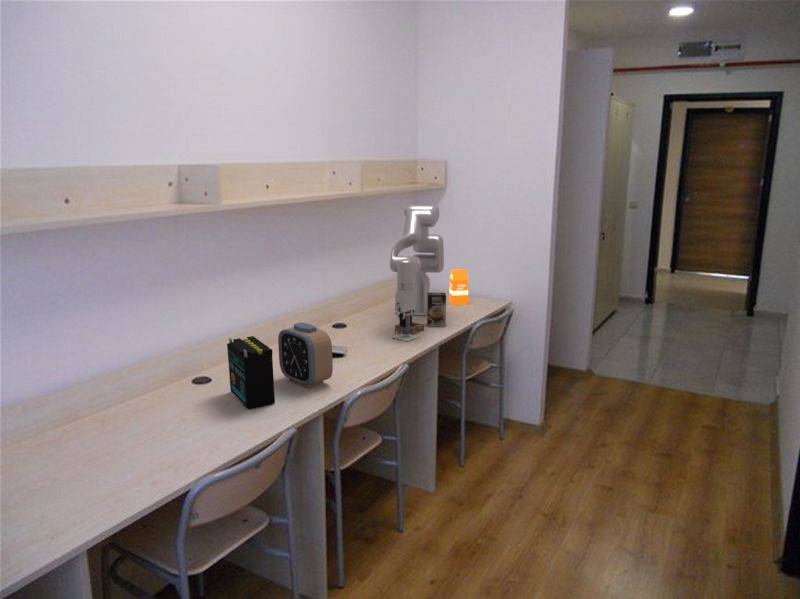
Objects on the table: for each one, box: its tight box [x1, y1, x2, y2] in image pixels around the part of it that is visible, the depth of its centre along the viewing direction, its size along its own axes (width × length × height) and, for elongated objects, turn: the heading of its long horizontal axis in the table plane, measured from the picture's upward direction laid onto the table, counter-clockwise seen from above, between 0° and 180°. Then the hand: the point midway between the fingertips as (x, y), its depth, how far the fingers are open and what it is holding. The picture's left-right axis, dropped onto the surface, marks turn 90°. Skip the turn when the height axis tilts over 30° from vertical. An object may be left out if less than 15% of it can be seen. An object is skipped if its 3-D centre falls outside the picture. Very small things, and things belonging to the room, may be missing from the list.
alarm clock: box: [277, 322, 334, 389], centre depth 225 cm, size 21×10×22 cm, turn 45°
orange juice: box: [448, 268, 469, 307], centre depth 344 cm, size 8×9×20 cm
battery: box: [226, 335, 276, 410], centre depth 211 cm, size 19×10×20 cm, turn 32°
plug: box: [401, 311, 411, 334], centre depth 280 cm, size 4×4×10 cm
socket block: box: [394, 321, 425, 335], centre depth 293 cm, size 10×10×3 cm
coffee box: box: [426, 292, 447, 328], centre depth 301 cm, size 9×6×16 cm
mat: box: [391, 333, 420, 342], centre depth 282 cm, size 9×9×1 cm
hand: (405, 325), depth 280 cm, fingers closed on plug, 3 cm apart
